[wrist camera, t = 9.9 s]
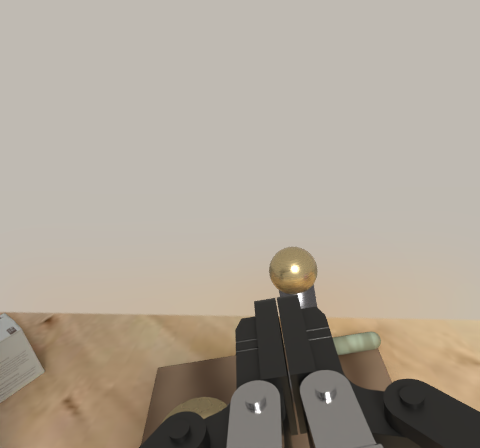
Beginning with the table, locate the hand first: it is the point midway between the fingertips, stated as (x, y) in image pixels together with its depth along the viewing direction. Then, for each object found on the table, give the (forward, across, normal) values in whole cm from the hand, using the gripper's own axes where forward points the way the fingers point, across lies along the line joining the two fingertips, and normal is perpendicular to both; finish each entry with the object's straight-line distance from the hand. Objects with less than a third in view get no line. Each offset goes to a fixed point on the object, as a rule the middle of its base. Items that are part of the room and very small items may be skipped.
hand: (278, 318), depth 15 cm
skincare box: (+30, +35, +26) cm, 53 cm away
